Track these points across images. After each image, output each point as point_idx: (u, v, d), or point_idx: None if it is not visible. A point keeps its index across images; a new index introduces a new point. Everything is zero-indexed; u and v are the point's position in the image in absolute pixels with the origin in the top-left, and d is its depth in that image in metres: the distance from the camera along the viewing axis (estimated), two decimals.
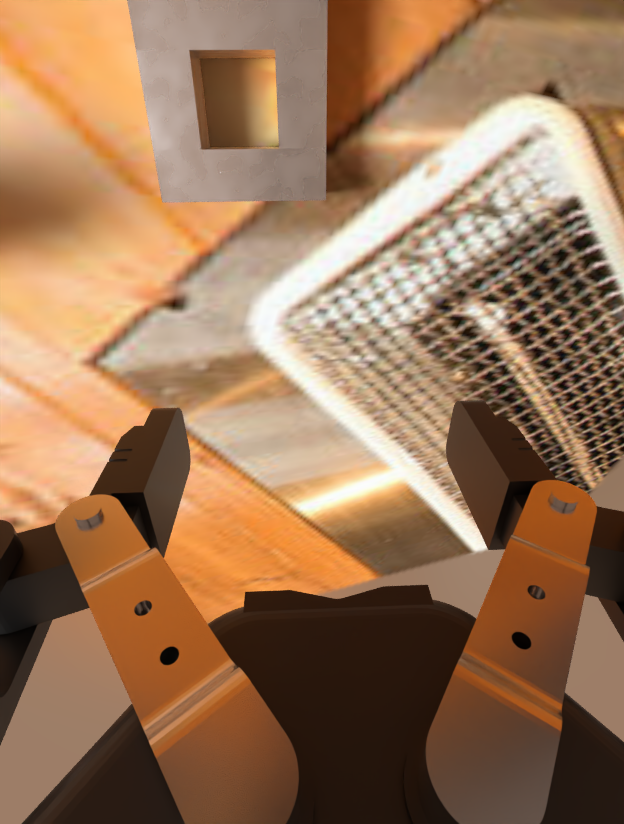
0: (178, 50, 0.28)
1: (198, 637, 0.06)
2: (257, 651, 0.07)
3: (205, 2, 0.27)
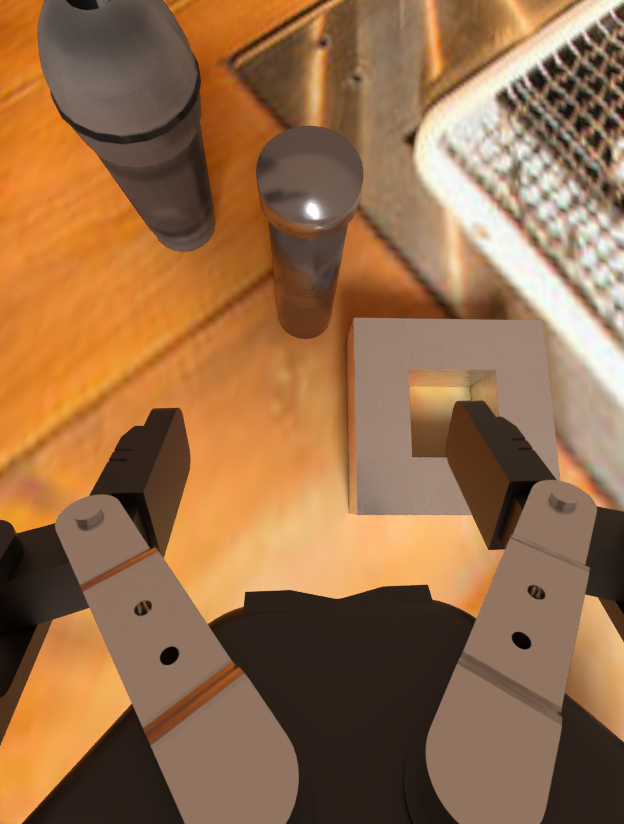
0: (413, 468, 0.26)
1: (198, 637, 0.06)
2: (257, 651, 0.06)
3: (374, 434, 0.26)
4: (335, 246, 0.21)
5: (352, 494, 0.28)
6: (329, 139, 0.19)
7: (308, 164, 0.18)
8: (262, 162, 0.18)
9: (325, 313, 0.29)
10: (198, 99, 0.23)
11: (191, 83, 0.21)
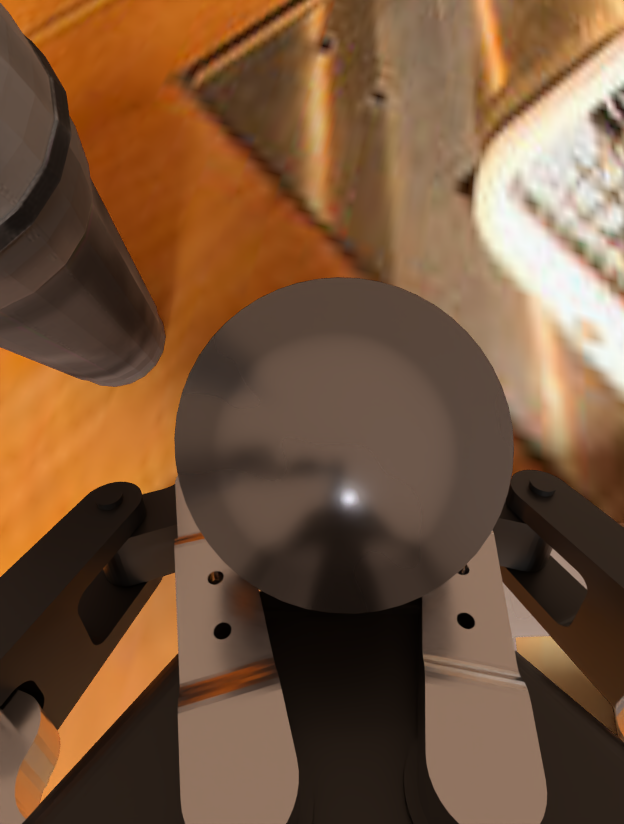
0: None
1: (252, 624, 0.06)
2: None
3: None
4: None
5: None
6: (398, 318, 0.06)
7: (339, 407, 0.06)
8: (194, 408, 0.06)
9: None
10: (73, 172, 0.10)
11: (38, 144, 0.09)
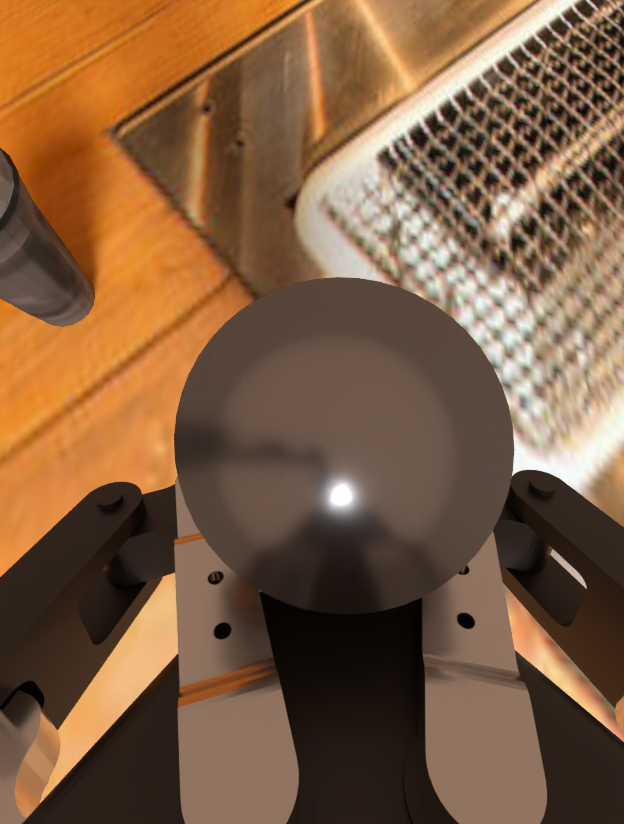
0: None
1: (251, 624, 0.06)
2: None
3: None
4: None
5: None
6: (398, 318, 0.06)
7: (339, 407, 0.06)
8: (193, 408, 0.06)
9: None
10: (22, 206, 0.23)
11: (4, 197, 0.22)
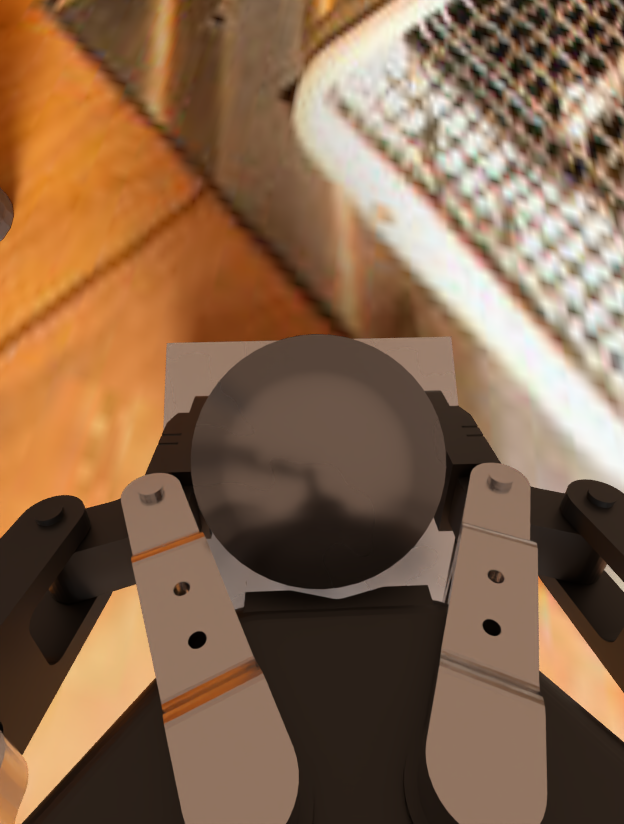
0: (247, 576, 0.17)
1: (226, 627, 0.06)
2: (257, 651, 0.07)
3: None
4: None
5: None
6: (360, 366, 0.08)
7: (314, 435, 0.08)
8: (205, 436, 0.08)
9: None
10: None
11: None
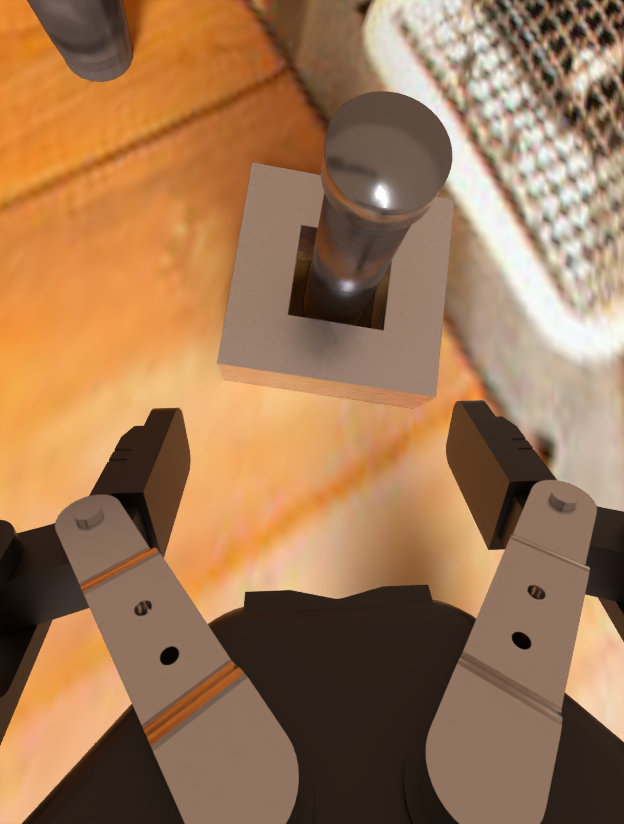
0: (286, 326, 0.24)
1: (198, 637, 0.06)
2: (257, 651, 0.06)
3: (250, 285, 0.24)
4: (395, 242, 0.18)
5: None
6: (417, 113, 0.15)
7: (388, 139, 0.15)
8: (334, 128, 0.15)
9: (359, 311, 0.26)
10: None
11: None
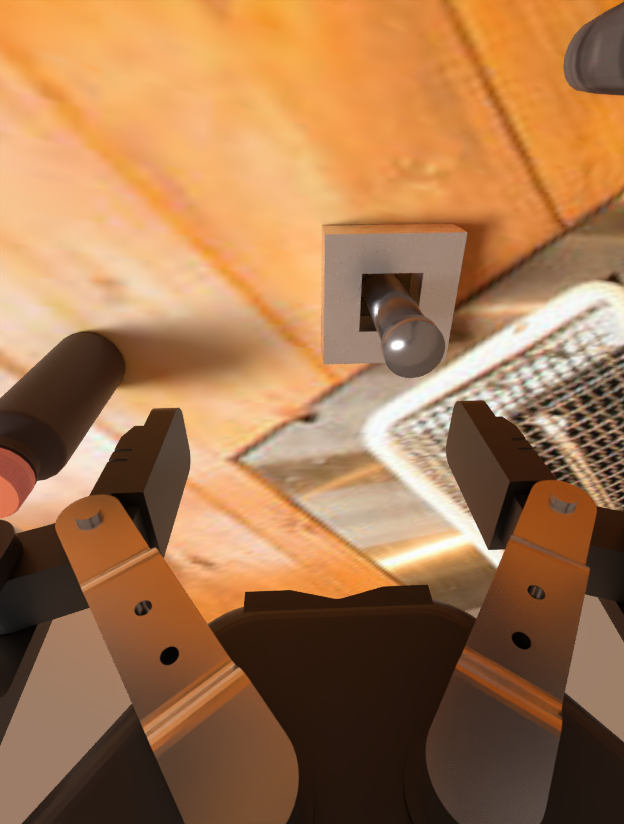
0: (354, 274, 0.39)
1: (198, 637, 0.06)
2: (257, 651, 0.07)
3: (379, 247, 0.38)
4: None
5: (336, 229, 0.39)
6: (434, 360, 0.32)
7: (419, 350, 0.32)
8: (423, 325, 0.31)
9: None
10: None
11: None
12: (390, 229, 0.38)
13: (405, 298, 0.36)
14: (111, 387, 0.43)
